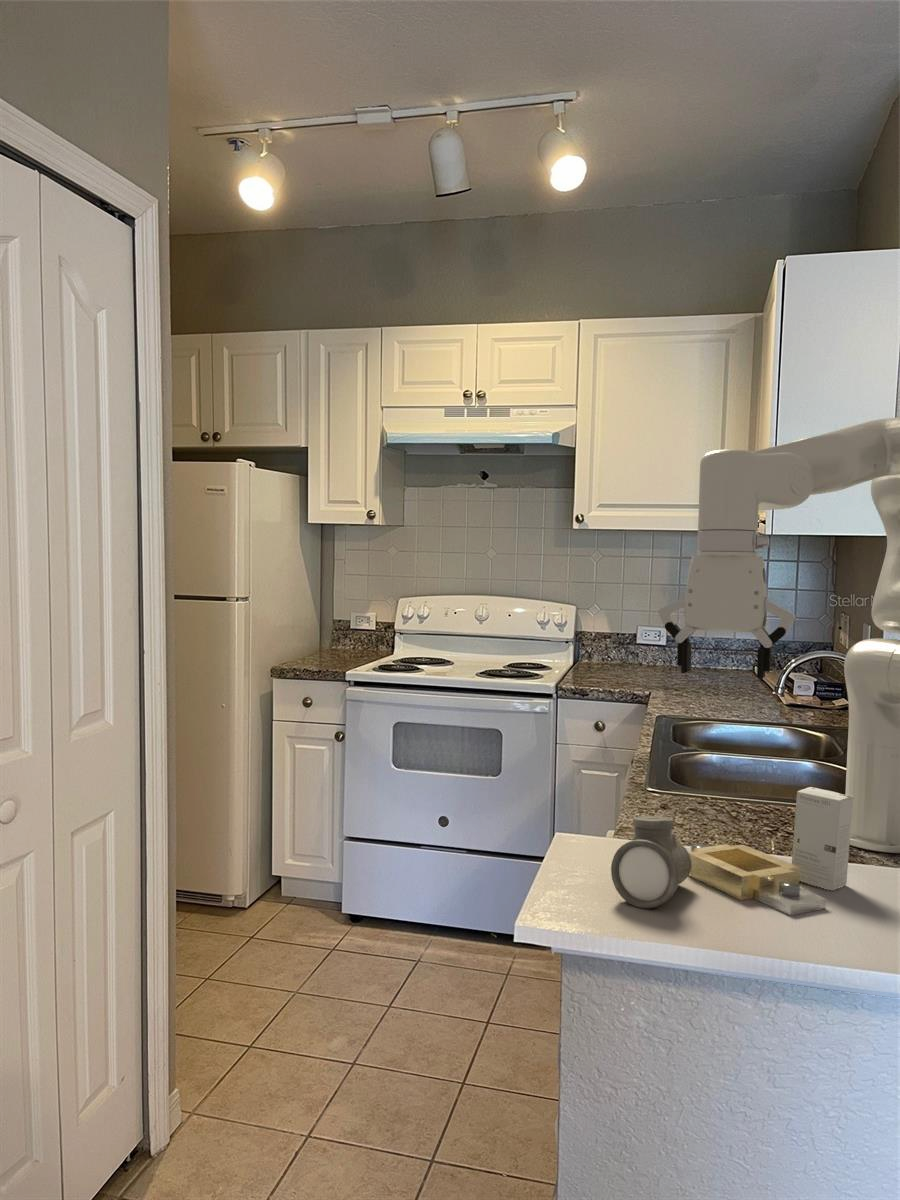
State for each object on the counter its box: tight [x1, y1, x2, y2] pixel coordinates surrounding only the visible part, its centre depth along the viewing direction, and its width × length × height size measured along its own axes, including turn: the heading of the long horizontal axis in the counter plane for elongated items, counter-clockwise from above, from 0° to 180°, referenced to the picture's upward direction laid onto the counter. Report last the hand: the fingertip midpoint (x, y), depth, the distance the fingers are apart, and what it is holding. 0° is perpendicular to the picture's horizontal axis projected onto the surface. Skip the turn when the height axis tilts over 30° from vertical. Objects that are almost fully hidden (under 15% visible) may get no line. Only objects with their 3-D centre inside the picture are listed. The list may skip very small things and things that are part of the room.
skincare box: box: [791, 786, 853, 892], centre depth 117 cm, size 6×4×12 cm
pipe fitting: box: [610, 815, 692, 909], centre depth 111 cm, size 12×8×10 cm
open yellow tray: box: [685, 843, 827, 916], centre depth 117 cm, size 10×22×3 cm, turn 26°
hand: (722, 674), depth 117 cm, fingers open, 9 cm apart
